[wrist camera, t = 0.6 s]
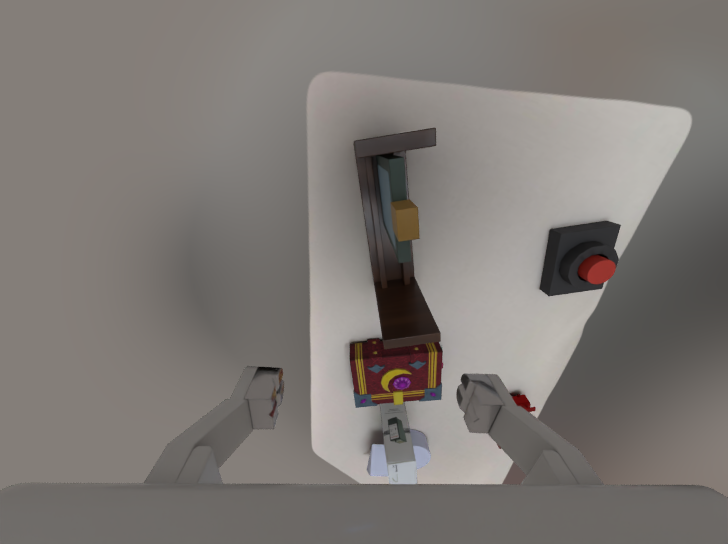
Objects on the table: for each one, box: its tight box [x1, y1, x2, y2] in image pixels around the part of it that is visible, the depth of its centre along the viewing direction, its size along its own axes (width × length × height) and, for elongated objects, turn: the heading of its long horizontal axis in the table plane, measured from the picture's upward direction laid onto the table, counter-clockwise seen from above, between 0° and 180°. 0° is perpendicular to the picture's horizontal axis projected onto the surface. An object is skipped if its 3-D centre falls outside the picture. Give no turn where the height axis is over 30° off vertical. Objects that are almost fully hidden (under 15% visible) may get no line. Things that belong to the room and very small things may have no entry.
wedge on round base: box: [367, 429, 431, 476], centre depth 55 cm, size 9×7×13 cm
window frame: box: [354, 128, 441, 349], centre depth 30 cm, size 20×6×14 cm, turn 8°
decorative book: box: [350, 338, 443, 408], centre depth 45 cm, size 11×16×5 cm
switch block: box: [540, 221, 621, 296], centre depth 38 cm, size 10×8×4 cm
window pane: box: [376, 154, 419, 263], centre depth 26 cm, size 9×2×15 cm, turn 8°
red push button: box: [578, 255, 616, 284], centre depth 35 cm, size 4×4×2 cm
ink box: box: [380, 402, 417, 484], centre depth 48 cm, size 9×5×12 cm, turn 7°
